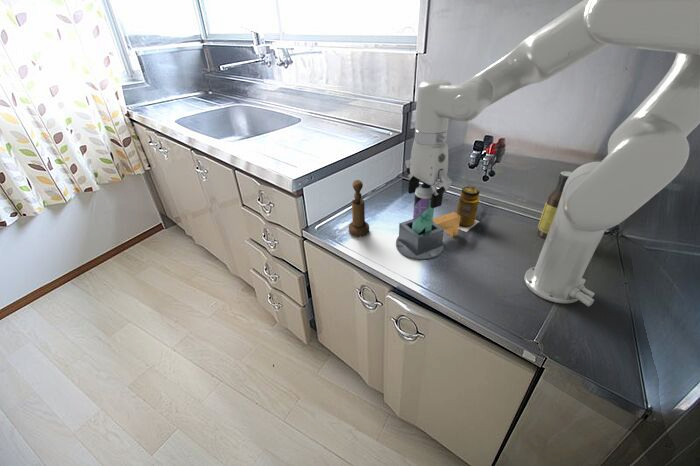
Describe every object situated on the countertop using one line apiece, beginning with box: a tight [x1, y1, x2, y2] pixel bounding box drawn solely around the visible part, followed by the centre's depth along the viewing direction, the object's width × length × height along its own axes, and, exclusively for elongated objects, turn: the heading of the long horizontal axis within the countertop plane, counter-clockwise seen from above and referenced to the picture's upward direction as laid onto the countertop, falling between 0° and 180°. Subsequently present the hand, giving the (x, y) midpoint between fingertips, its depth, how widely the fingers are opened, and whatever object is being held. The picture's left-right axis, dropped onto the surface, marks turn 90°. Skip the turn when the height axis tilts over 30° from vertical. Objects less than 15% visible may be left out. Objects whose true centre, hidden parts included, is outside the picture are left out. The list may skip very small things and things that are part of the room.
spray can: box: [412, 181, 435, 235], centre depth 89 cm, size 6×6×20 cm
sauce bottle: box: [536, 170, 573, 239], centre depth 92 cm, size 6×6×20 cm
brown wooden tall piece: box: [348, 179, 370, 238], centre depth 98 cm, size 7×6×18 cm
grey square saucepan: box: [395, 211, 461, 261], centre depth 94 cm, size 14×20×7 cm
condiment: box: [456, 186, 481, 233], centre depth 101 cm, size 7×8×12 cm
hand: (424, 199), depth 86 cm, fingers open, 9 cm apart
